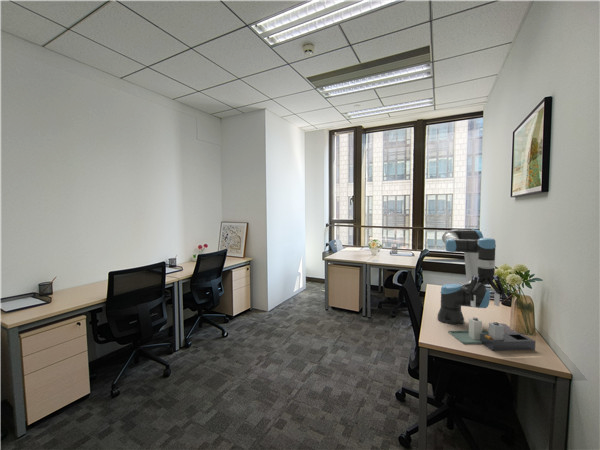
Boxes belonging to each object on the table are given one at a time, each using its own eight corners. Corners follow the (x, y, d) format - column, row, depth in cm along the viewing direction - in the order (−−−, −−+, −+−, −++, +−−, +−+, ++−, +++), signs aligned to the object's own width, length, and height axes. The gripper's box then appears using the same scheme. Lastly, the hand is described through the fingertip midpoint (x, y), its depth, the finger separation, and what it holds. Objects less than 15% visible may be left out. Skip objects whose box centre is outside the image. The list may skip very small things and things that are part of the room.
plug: (468, 335, 153) (468, 316, 153) (476, 335, 154) (476, 316, 153) (473, 339, 149) (474, 320, 148) (481, 339, 149) (482, 319, 149)
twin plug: (488, 341, 143) (488, 321, 143) (496, 341, 144) (497, 321, 143) (494, 345, 139) (495, 324, 139) (503, 345, 139) (503, 324, 139)
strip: (480, 343, 146) (480, 332, 145) (520, 342, 146) (520, 331, 146) (492, 351, 137) (492, 340, 136) (535, 350, 137) (535, 339, 137)
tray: (448, 333, 158) (448, 330, 158) (485, 332, 159) (485, 329, 159) (463, 344, 144) (463, 342, 144) (504, 344, 145) (504, 341, 145)
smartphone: (505, 323, 170) (519, 334, 155) (505, 325, 170) (519, 335, 155) (492, 322, 171) (504, 332, 157) (492, 324, 171) (504, 334, 157)
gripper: (468, 269, 141) (467, 309, 142) (514, 267, 143) (512, 307, 144) (459, 266, 148) (458, 304, 150) (502, 264, 150) (500, 302, 152)
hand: (484, 306), depth 147 cm, fingers open, 13 cm apart
